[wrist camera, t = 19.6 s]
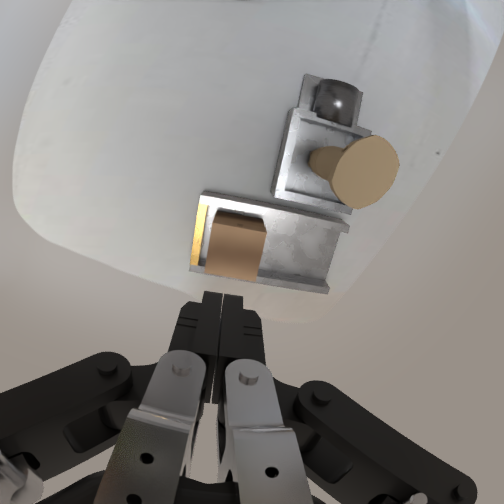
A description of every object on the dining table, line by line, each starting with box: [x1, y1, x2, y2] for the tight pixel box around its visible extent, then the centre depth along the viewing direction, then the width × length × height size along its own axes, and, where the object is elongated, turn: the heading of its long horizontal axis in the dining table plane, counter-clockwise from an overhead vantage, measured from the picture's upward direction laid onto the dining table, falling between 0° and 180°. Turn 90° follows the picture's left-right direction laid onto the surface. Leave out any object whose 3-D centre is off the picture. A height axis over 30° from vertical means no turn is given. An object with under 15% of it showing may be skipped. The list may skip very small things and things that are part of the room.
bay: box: [189, 191, 350, 294], centre depth 38 cm, size 10×19×4 cm, turn 78°
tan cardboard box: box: [204, 211, 267, 282], centre depth 35 cm, size 6×6×6 cm
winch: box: [271, 74, 372, 215], centre depth 32 cm, size 16×10×6 cm, turn 168°
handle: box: [308, 135, 399, 209], centre depth 28 cm, size 5×6×15 cm
